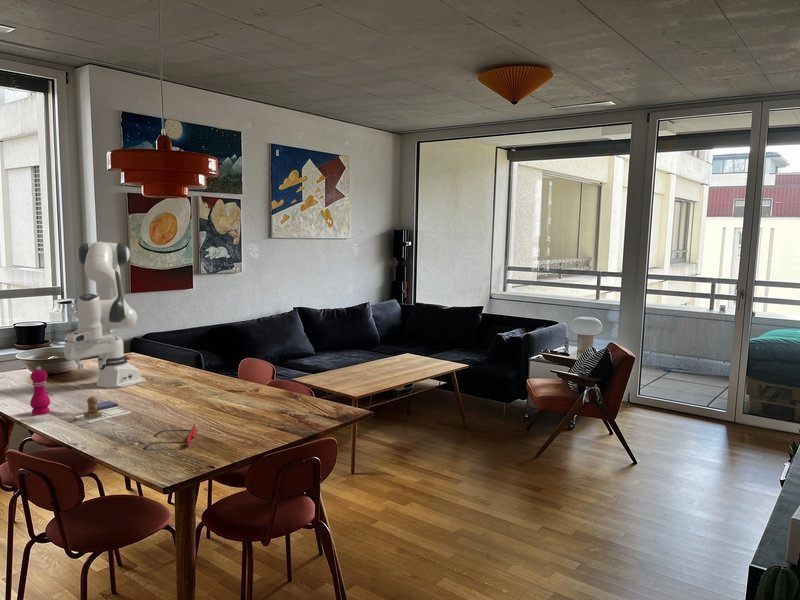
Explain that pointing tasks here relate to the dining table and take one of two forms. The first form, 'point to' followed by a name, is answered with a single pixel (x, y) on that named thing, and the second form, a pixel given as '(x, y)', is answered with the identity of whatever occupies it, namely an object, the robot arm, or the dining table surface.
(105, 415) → the print card
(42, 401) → the pepper mill
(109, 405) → the ink pad
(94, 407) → the stamp
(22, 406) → the dining table surface
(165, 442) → the glasses
